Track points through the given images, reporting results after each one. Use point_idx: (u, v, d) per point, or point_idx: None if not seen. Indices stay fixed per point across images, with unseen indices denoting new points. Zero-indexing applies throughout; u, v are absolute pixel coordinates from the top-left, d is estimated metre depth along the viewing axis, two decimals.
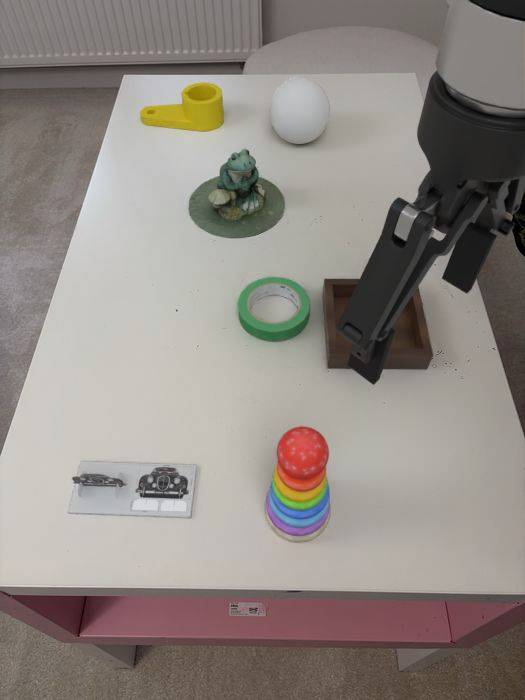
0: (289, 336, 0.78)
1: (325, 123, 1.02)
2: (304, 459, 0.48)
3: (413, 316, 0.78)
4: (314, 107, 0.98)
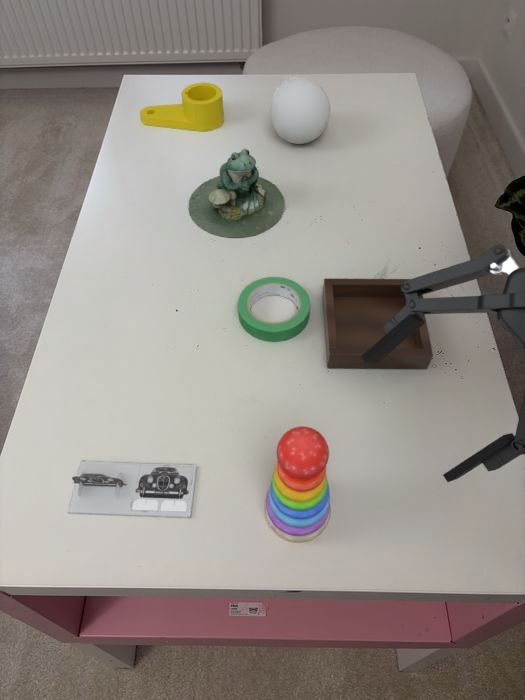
0: (289, 336, 0.78)
1: (325, 123, 1.02)
2: (304, 459, 0.48)
3: None
4: (314, 107, 0.98)
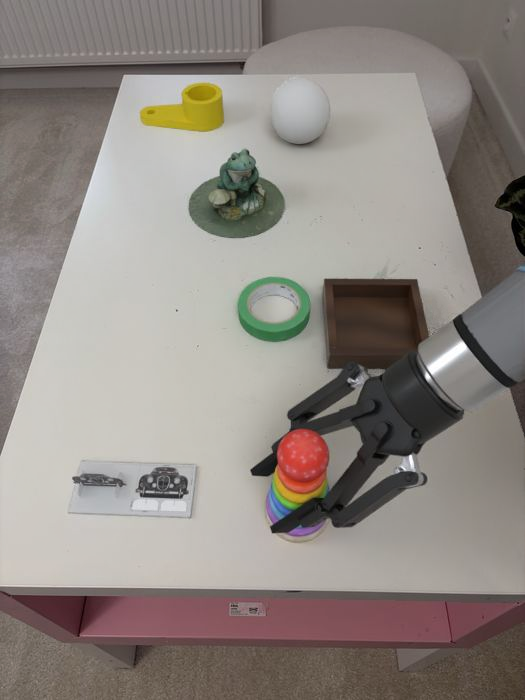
0: (289, 336, 0.78)
1: (325, 123, 1.02)
2: (305, 462, 0.48)
3: (413, 316, 0.78)
4: (314, 107, 0.98)
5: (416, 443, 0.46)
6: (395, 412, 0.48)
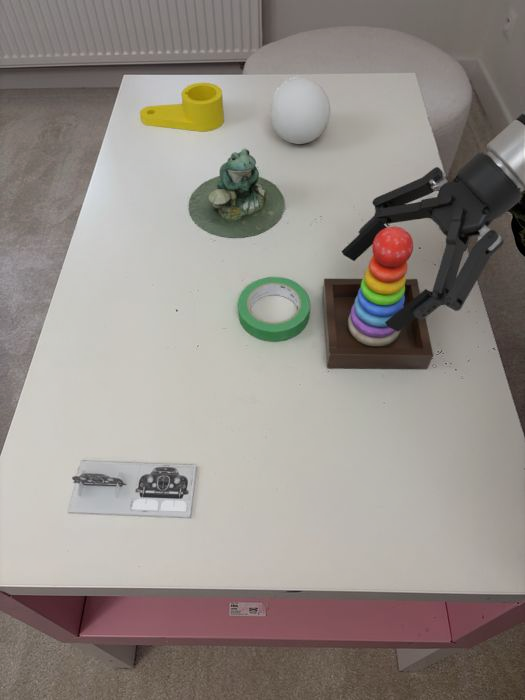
0: (289, 336, 0.78)
1: (325, 123, 1.02)
2: (397, 243, 0.63)
3: None
4: (314, 107, 0.98)
5: (486, 218, 0.61)
6: (468, 200, 0.62)
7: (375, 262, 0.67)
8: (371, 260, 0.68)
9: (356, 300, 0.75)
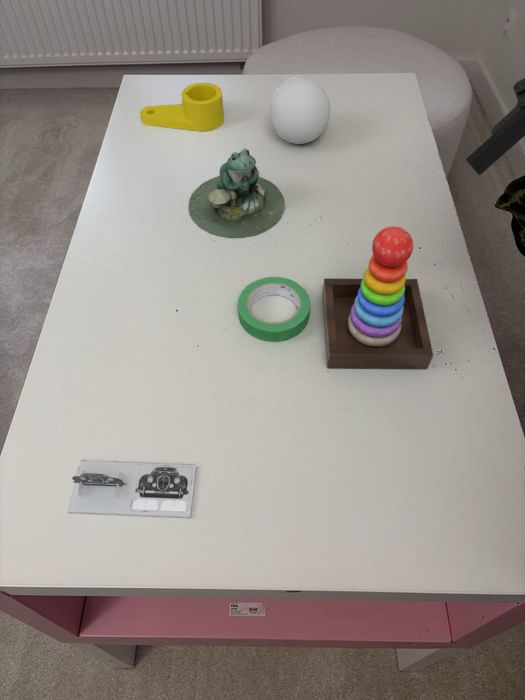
0: (289, 336, 0.78)
1: (325, 123, 1.02)
2: (397, 243, 0.63)
3: (413, 316, 0.78)
4: (314, 107, 0.98)
5: None
6: None
7: (375, 262, 0.67)
8: (371, 260, 0.68)
9: (356, 300, 0.75)
